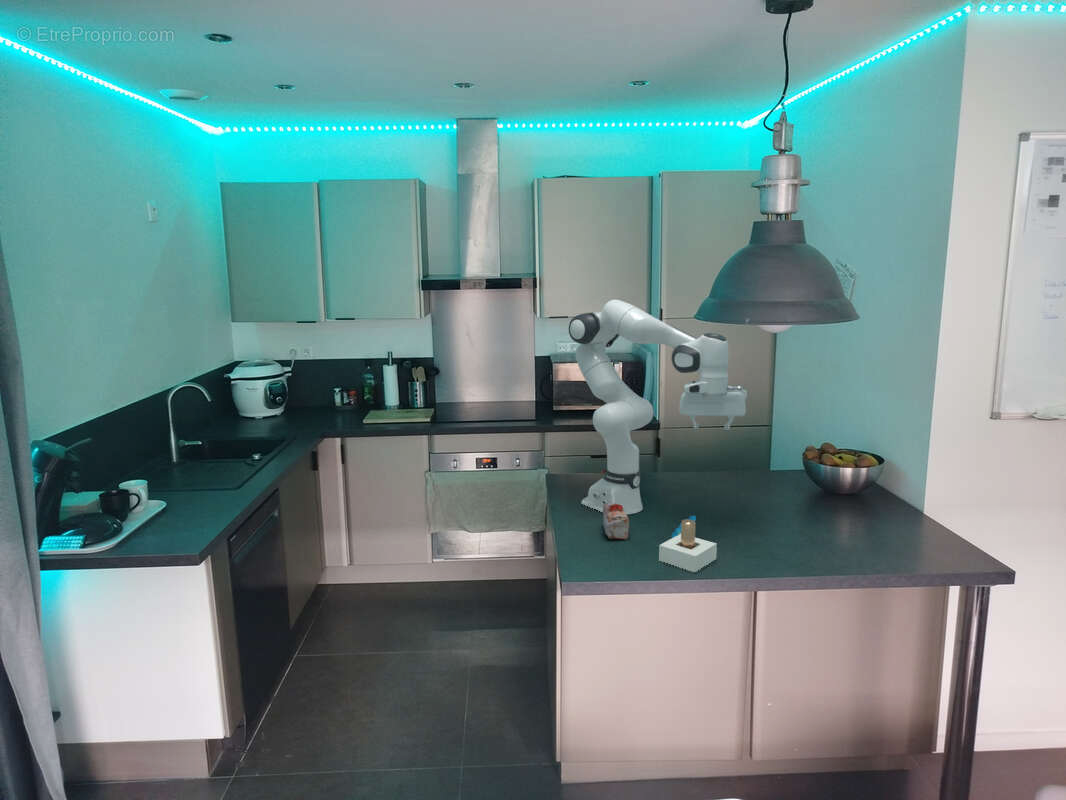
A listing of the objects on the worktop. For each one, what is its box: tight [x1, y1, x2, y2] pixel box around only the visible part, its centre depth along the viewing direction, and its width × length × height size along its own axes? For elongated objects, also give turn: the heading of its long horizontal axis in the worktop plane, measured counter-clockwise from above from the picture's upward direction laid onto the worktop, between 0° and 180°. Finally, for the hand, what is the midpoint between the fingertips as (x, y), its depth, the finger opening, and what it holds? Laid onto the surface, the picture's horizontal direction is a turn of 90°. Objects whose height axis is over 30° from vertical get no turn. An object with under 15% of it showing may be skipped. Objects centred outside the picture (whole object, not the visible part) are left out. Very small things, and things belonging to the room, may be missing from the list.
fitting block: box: [658, 534, 718, 573], centre depth 210 cm, size 12×12×5 cm
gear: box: [671, 515, 697, 539], centre depth 225 cm, size 11×6×10 cm
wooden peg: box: [680, 518, 696, 550], centre depth 209 cm, size 4×4×12 cm
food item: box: [602, 503, 630, 540], centre depth 231 cm, size 14×8×10 cm, turn 5°
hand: (711, 429), depth 225 cm, fingers open, 8 cm apart
